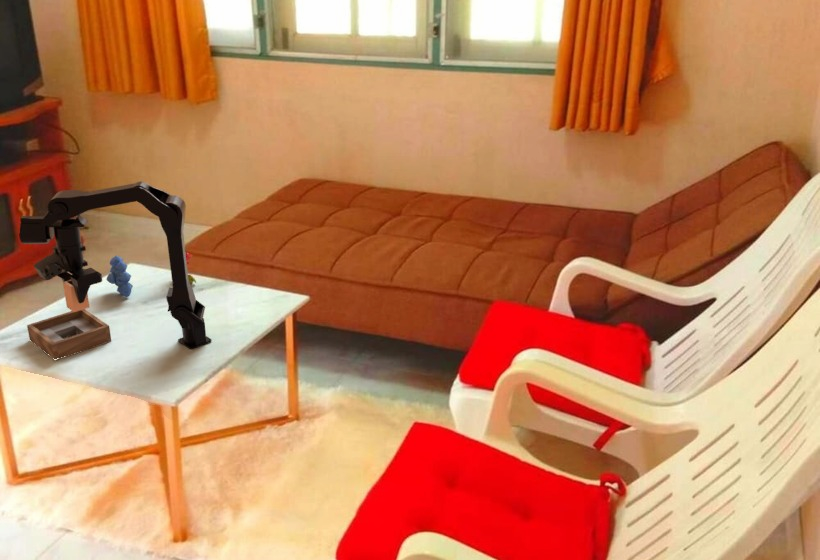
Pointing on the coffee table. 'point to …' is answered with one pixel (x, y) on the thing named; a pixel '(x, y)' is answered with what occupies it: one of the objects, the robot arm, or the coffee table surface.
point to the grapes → (120, 276)
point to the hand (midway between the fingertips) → (77, 300)
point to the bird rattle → (190, 275)
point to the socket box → (69, 333)
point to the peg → (74, 298)
